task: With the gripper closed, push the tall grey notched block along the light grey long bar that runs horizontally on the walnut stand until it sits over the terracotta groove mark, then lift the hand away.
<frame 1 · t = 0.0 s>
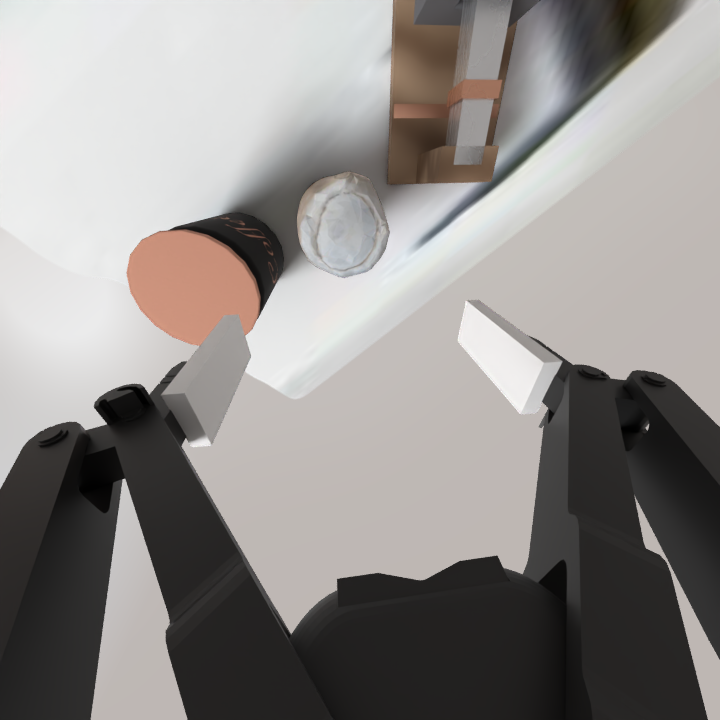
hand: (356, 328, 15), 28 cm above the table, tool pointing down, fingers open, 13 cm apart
pipe stand: (448, 53, 29), on the table
light grey long bar: (485, 13, 22), point 8 cm above the table
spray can: (333, 211, 36), on the table
coffee jar: (247, 253, 38), on the table
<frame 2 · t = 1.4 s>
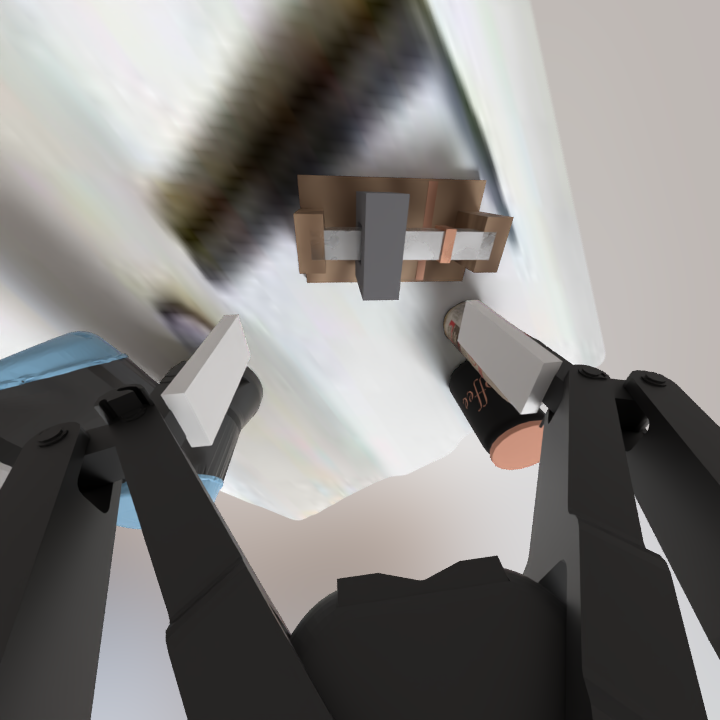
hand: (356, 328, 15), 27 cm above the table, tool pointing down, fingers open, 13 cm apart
pipe stand: (388, 233, 37), on the table
tall grey notched block: (376, 243, 30), point 8 cm above the table, slide at 0.0 cm
light grey long bar: (401, 243, 31), point 8 cm above the table
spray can: (464, 319, 47), on the table
coffee jar: (471, 376, 54), on the table
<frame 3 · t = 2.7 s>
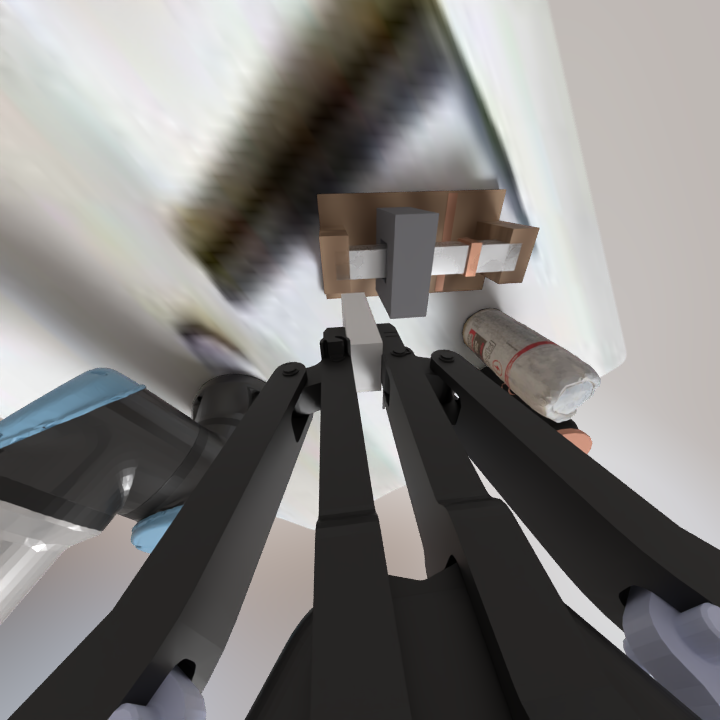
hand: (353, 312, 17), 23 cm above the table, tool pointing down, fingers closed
pipe stand: (407, 246, 37), on the table
tall grey notched block: (400, 259, 30), point 8 cm above the table, slide at 0.0 cm
light grey long bar: (425, 258, 30), point 8 cm above the table
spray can: (482, 327, 46), on the table
coffee jar: (490, 382, 54), on the table
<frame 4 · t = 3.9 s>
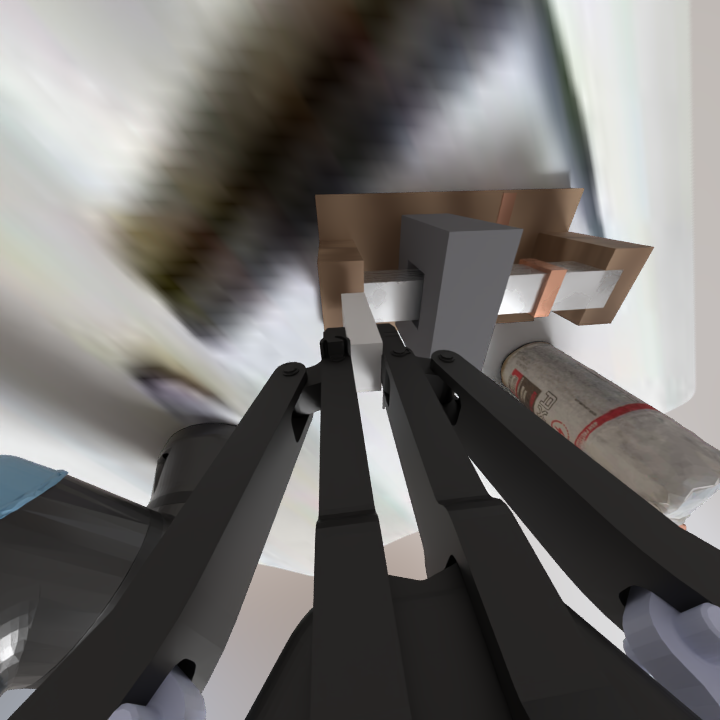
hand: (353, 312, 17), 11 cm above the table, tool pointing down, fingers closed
pipe stand: (438, 265, 27), on the table
tall grey notched block: (437, 292, 20), point 8 cm above the table, slide at 0.0 cm
light grey long bar: (474, 290, 21), point 8 cm above the table
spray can: (526, 363, 36), on the table
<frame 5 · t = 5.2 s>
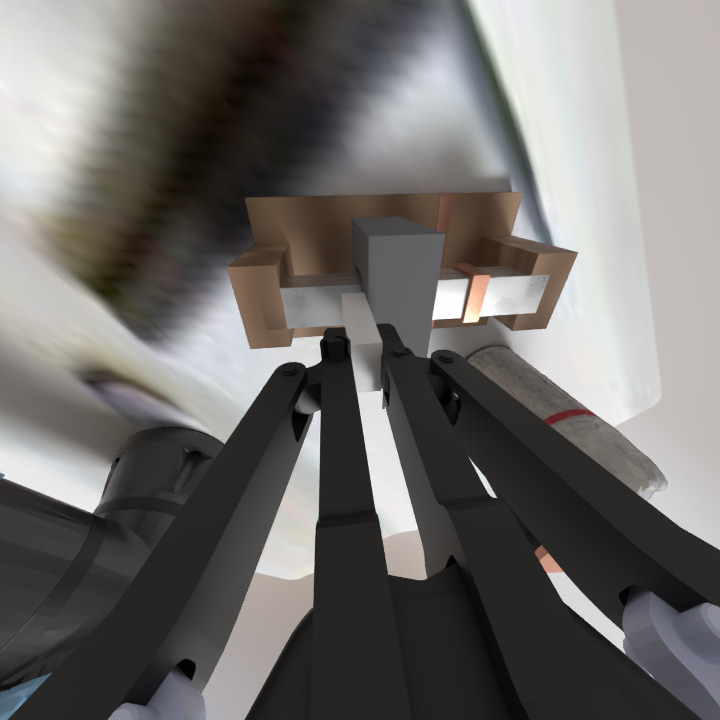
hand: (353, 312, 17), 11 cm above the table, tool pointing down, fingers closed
pipe stand: (384, 268, 27), on the table
tall grey notched block: (384, 296, 20), point 8 cm above the table, slide at 1.5 cm, touching gripper
light grey long bar: (403, 295, 20), point 8 cm above the table
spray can: (486, 366, 36), on the table
coffee jar: (494, 427, 44), on the table
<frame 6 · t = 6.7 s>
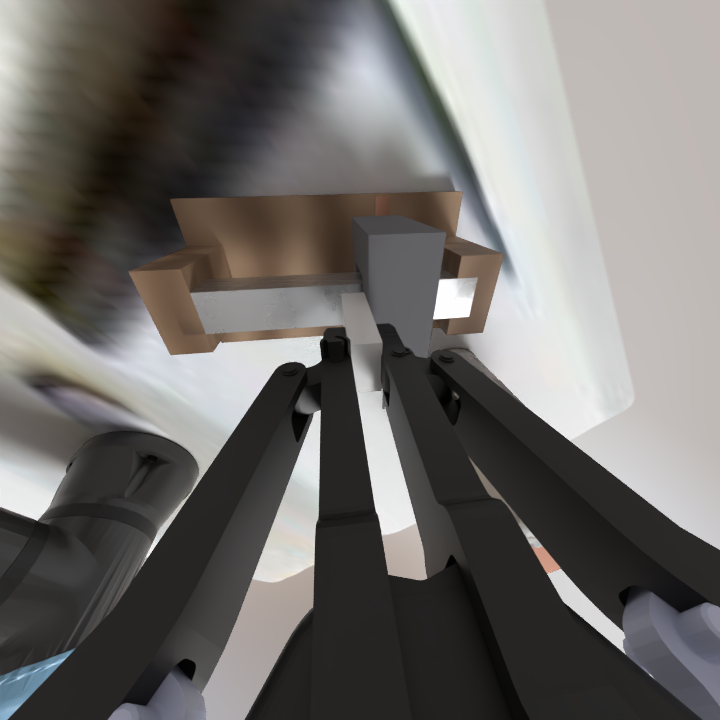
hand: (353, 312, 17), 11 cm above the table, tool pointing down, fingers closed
pipe stand: (329, 270, 26), on the table
tall grey notched block: (385, 295, 20), point 8 cm above the table, slide at 7.2 cm, touching gripper
light grey long bar: (330, 299, 20), point 8 cm above the table
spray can: (448, 369, 35), on the table
coffee jar: (464, 431, 43), on the table
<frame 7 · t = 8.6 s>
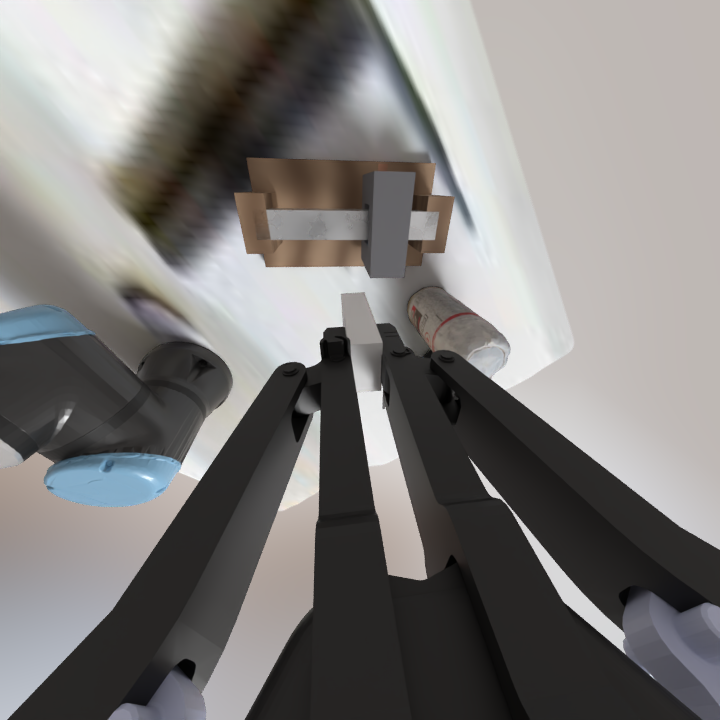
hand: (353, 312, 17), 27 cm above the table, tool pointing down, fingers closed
pipe stand: (344, 217, 38), on the table
tall grey notched block: (382, 224, 31), point 8 cm above the table, slide at 7.2 cm
light grey long bar: (348, 224, 31), point 8 cm above the table
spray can: (428, 305, 47), on the table
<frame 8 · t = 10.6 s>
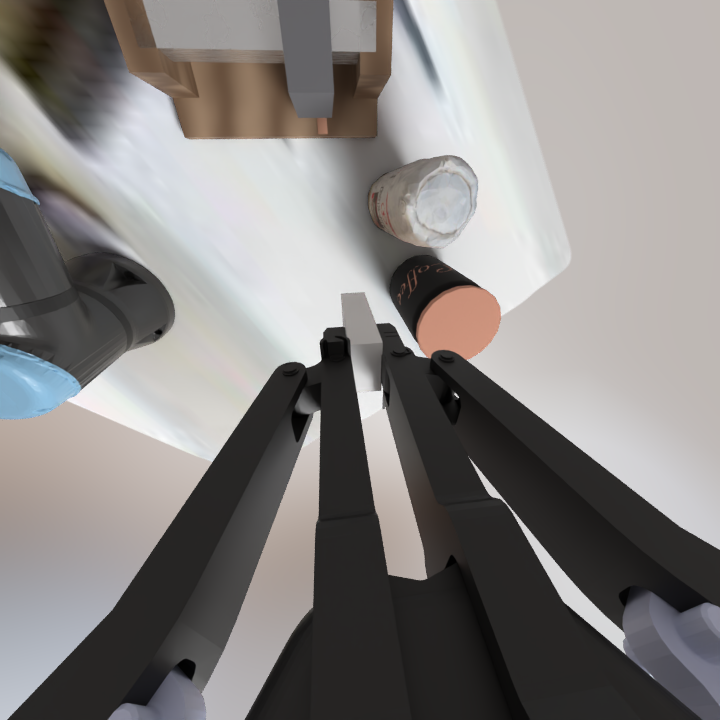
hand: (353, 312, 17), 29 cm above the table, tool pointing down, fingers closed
pipe stand: (275, 66, 31), on the table
tall grey notched block: (307, 33, 24), point 8 cm above the table, slide at 7.2 cm
light grey long bar: (261, 32, 24), point 8 cm above the table
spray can: (393, 201, 40), on the table
coffee jar: (416, 284, 47), on the table
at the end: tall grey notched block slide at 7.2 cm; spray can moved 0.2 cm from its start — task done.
